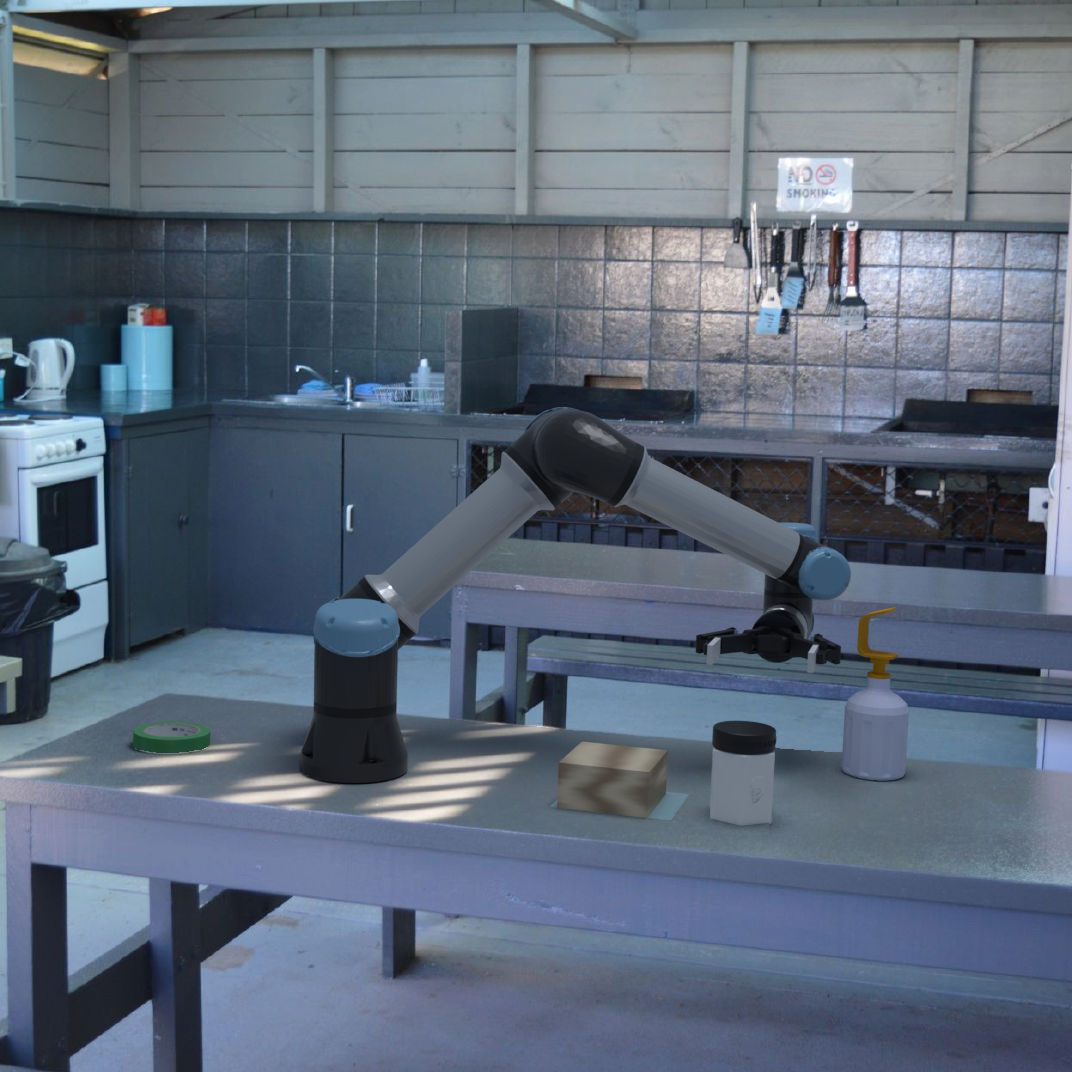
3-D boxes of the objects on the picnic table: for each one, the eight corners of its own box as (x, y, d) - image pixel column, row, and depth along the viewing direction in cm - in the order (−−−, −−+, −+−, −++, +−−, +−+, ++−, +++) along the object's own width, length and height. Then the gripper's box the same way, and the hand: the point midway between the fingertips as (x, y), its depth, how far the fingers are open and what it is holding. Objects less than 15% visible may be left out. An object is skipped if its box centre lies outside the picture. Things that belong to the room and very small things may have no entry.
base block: (557, 807, 193) (558, 762, 192) (580, 784, 204) (581, 741, 203) (647, 818, 189) (649, 772, 189) (665, 793, 201) (667, 750, 200)
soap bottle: (895, 785, 210) (905, 614, 208) (833, 775, 215) (842, 607, 212) (912, 771, 218) (922, 606, 216) (852, 762, 223) (861, 600, 220)
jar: (726, 830, 187) (731, 737, 185) (694, 812, 194) (698, 722, 193) (787, 824, 190) (791, 732, 189) (753, 806, 198) (757, 718, 196)
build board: (549, 809, 193) (549, 806, 193) (575, 784, 205) (575, 781, 205) (670, 823, 189) (670, 820, 188) (689, 797, 201) (689, 794, 201)
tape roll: (225, 744, 222) (225, 727, 222) (177, 760, 212) (178, 742, 212) (166, 734, 227) (166, 717, 226) (117, 750, 217) (117, 732, 216)
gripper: (863, 665, 217) (852, 694, 197) (695, 652, 224) (667, 678, 204) (866, 614, 217) (854, 638, 196) (697, 603, 224) (669, 625, 203)
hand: (759, 659), depth 200 cm, fingers open, 13 cm apart
